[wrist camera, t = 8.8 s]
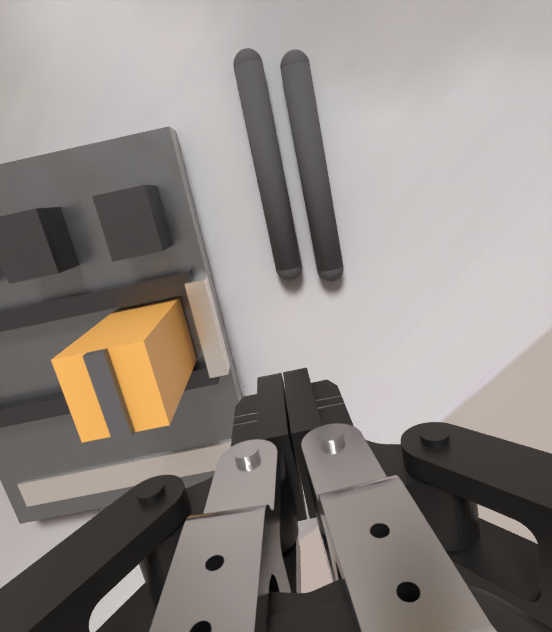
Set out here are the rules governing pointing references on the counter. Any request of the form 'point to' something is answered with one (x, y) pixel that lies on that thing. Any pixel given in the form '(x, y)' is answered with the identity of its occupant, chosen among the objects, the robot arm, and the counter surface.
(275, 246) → the pair of grey rods
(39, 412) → the panel
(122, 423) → the toggle
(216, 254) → the counter surface
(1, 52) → the counter surface
